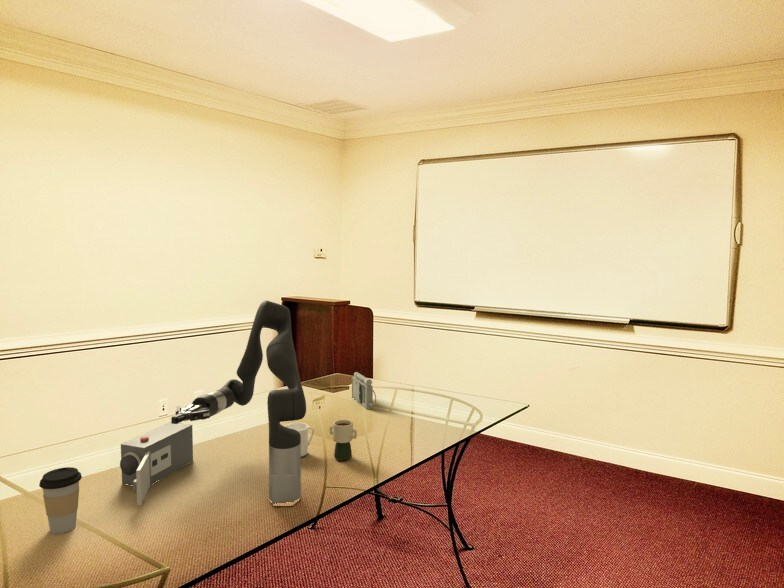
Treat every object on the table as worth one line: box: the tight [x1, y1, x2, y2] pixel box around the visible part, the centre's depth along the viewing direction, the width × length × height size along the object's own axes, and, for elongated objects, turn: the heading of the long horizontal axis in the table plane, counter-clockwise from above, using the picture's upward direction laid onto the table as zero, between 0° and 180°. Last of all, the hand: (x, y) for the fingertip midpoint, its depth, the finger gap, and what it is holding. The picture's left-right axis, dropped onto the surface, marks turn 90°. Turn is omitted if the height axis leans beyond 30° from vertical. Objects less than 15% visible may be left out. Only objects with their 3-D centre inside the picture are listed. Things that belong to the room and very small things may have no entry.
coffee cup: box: [38, 466, 83, 535], centre depth 137 cm, size 9×9×15 cm
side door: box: [132, 452, 153, 506], centre depth 154 cm, size 13×2×10 cm, turn 14°
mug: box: [283, 422, 315, 459], centre depth 188 cm, size 11×9×10 cm
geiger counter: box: [351, 371, 377, 410], centre depth 248 cm, size 14×6×25 cm
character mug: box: [329, 419, 358, 461], centre depth 185 cm, size 11×7×13 cm, turn 65°
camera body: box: [119, 421, 194, 486], centre depth 171 cm, size 24×10×14 cm, turn 162°
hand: (173, 420), depth 157 cm, fingers closed
